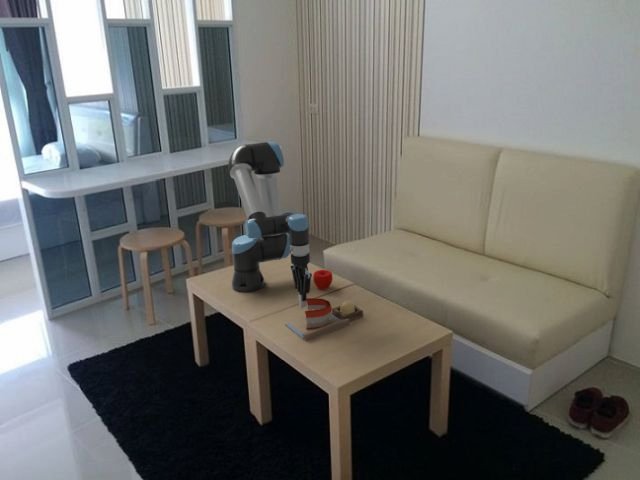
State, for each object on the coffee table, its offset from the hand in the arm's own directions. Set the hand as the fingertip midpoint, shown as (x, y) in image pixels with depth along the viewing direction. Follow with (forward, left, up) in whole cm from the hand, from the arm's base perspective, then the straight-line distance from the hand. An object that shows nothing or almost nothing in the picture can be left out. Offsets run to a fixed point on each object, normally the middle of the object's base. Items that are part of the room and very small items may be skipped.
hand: (303, 306), depth 234 cm
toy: (+9, +2, -4) cm, 10 cm away
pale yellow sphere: (+12, +14, -4) cm, 18 cm away
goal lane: (+10, 0, -4) cm, 10 cm away
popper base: (+12, +14, -4) cm, 19 cm away
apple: (-17, +21, -4) cm, 28 cm away
